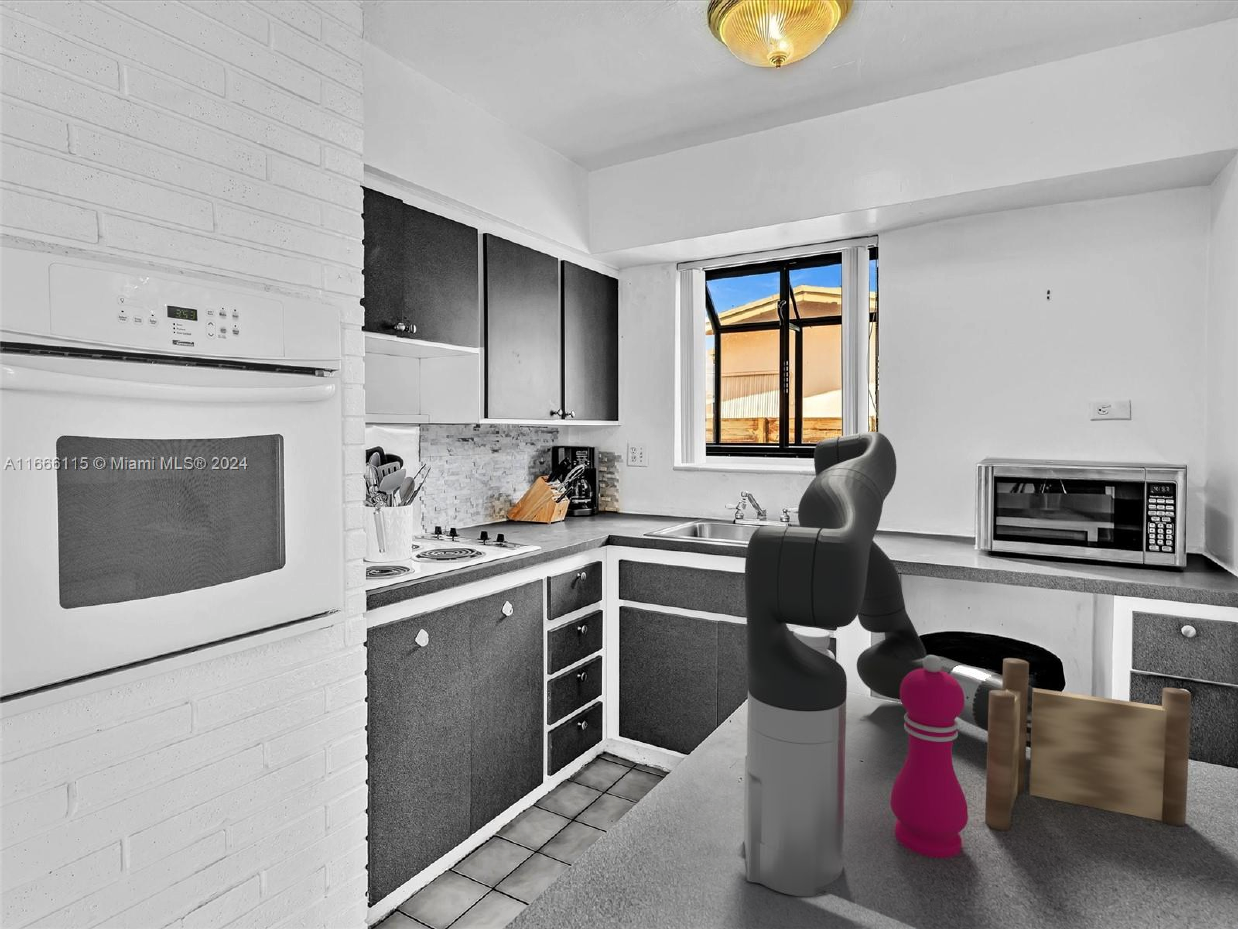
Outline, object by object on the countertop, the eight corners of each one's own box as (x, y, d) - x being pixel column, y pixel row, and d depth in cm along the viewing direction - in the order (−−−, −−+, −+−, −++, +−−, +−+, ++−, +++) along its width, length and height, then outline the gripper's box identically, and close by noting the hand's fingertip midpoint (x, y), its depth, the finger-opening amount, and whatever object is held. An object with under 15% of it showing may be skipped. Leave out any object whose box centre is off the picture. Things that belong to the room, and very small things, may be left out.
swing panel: (1030, 797, 81) (1034, 675, 80) (1028, 787, 83) (1032, 669, 82) (1188, 828, 75) (1194, 697, 74) (1182, 817, 77) (1187, 689, 76)
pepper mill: (975, 875, 68) (982, 669, 67) (896, 865, 70) (901, 664, 69) (956, 833, 75) (961, 647, 74) (884, 825, 77) (888, 642, 76)
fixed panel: (1001, 781, 85) (1005, 656, 84) (1026, 787, 83) (1030, 661, 82) (982, 825, 75) (986, 685, 74) (1009, 833, 73) (1014, 691, 73)
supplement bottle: (811, 730, 101) (813, 641, 100) (774, 713, 107) (776, 629, 106) (844, 719, 105) (846, 633, 104) (807, 704, 111) (809, 622, 110)
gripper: (956, 681, 91) (1097, 734, 75) (1022, 666, 97) (1166, 712, 81) (954, 738, 91) (1094, 803, 76) (1020, 720, 97) (1163, 776, 82)
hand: (1131, 756), depth 79 cm, fingers closed
